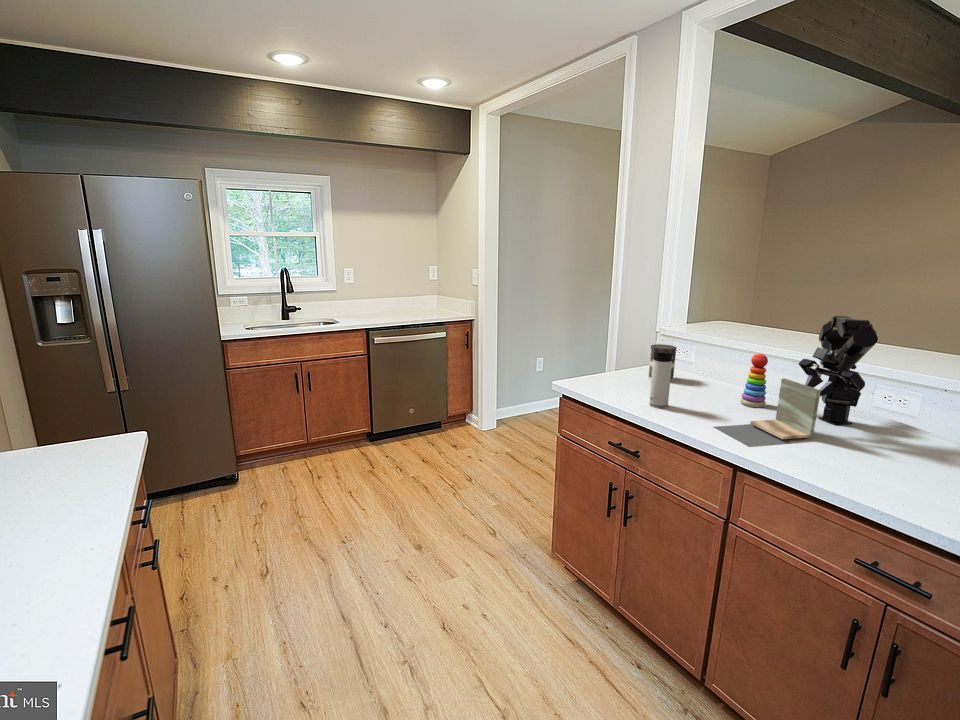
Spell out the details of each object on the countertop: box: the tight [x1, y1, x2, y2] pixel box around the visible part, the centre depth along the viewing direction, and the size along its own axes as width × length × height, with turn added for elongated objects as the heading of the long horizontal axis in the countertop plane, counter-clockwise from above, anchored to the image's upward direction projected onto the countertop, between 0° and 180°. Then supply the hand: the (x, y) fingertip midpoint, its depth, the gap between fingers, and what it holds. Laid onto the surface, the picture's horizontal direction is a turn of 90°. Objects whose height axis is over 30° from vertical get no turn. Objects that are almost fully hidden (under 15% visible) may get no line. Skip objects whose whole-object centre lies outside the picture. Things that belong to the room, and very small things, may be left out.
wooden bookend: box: [749, 378, 821, 441], centre depth 146 cm, size 10×13×15 cm
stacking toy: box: [739, 353, 769, 408], centre depth 173 cm, size 8×8×19 cm
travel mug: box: [648, 351, 673, 409], centre depth 171 cm, size 6×7×20 cm
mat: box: [713, 423, 793, 448], centre depth 146 cm, size 14×16×1 cm
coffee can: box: [648, 343, 678, 381], centre depth 208 cm, size 10×10×14 cm
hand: (810, 393), depth 147 cm, fingers open, 4 cm apart
